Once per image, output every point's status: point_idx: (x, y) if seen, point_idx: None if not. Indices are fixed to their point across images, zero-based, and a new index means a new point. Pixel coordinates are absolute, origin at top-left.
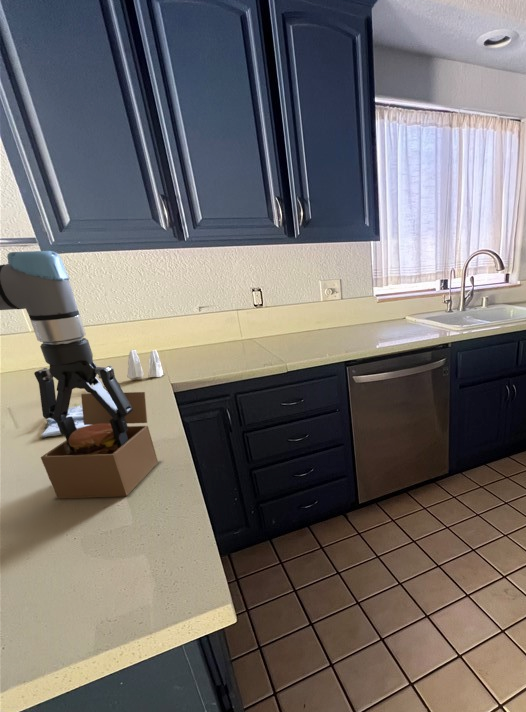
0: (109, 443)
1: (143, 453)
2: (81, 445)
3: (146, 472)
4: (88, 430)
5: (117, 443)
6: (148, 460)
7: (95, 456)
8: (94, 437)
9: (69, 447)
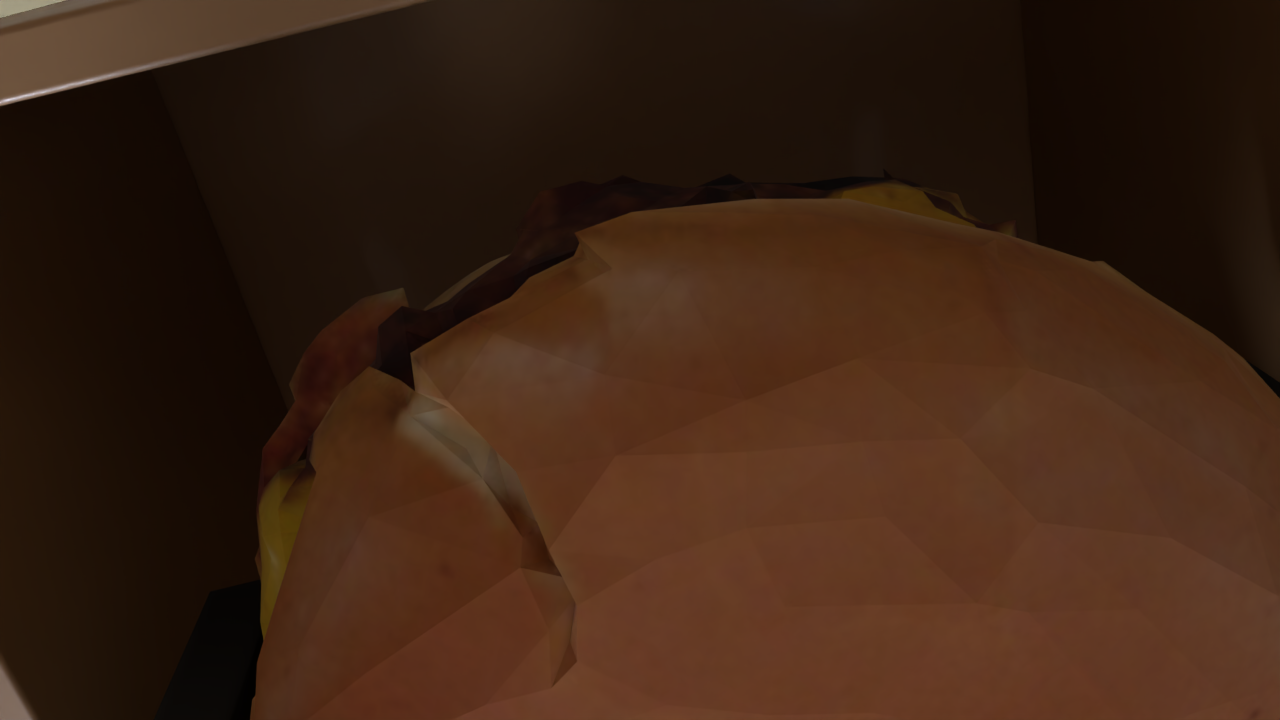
0: (277, 578)
1: None
2: (663, 209)
3: None
4: None
5: (237, 658)
6: None
7: (107, 2)
8: (462, 563)
9: (1266, 376)
